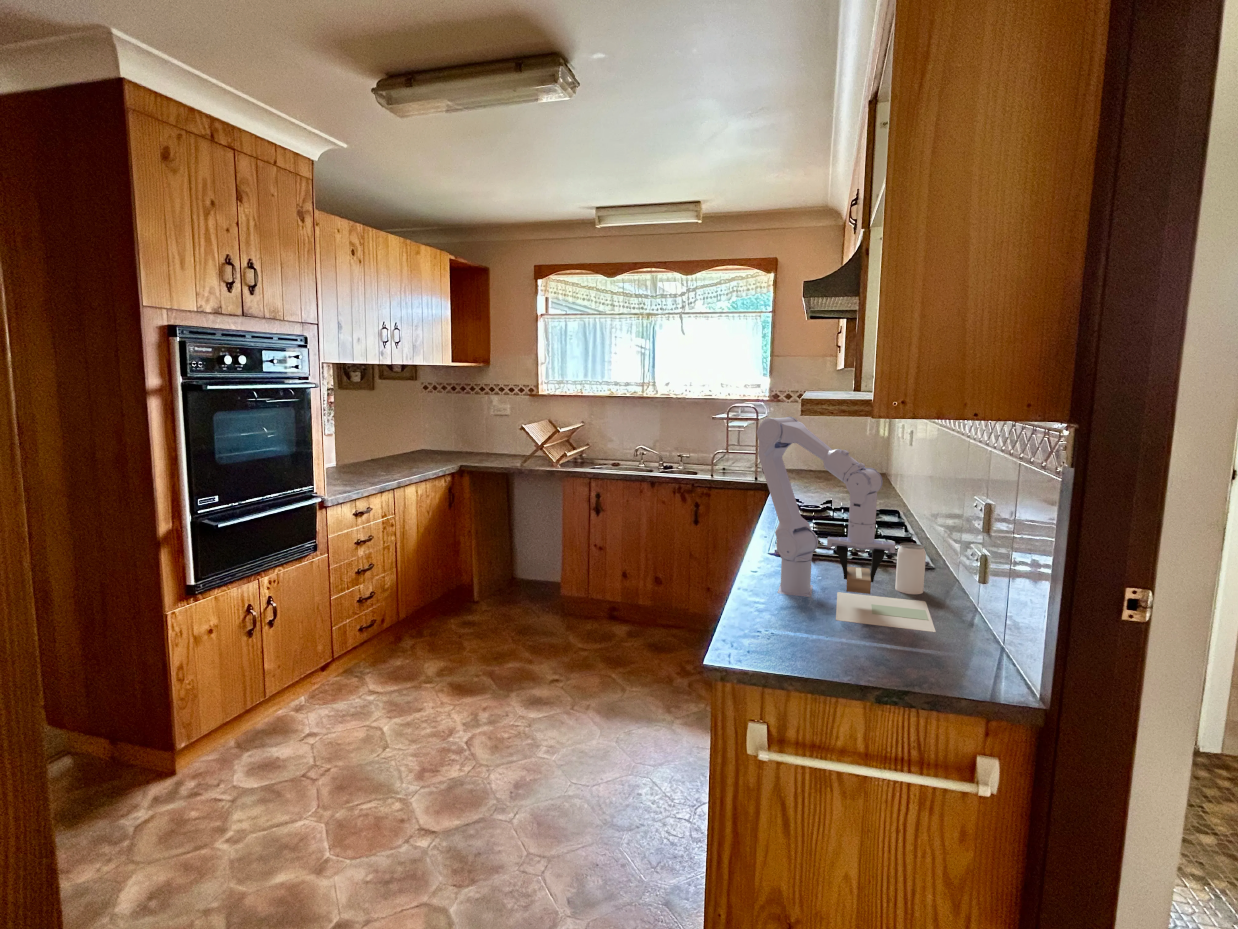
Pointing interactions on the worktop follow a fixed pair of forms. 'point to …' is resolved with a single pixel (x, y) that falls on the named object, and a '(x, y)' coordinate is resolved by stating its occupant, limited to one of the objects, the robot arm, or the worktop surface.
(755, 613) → the worktop surface
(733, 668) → the worktop surface
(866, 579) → the tissue box
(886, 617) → the mat
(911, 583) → the can
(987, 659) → the worktop surface
